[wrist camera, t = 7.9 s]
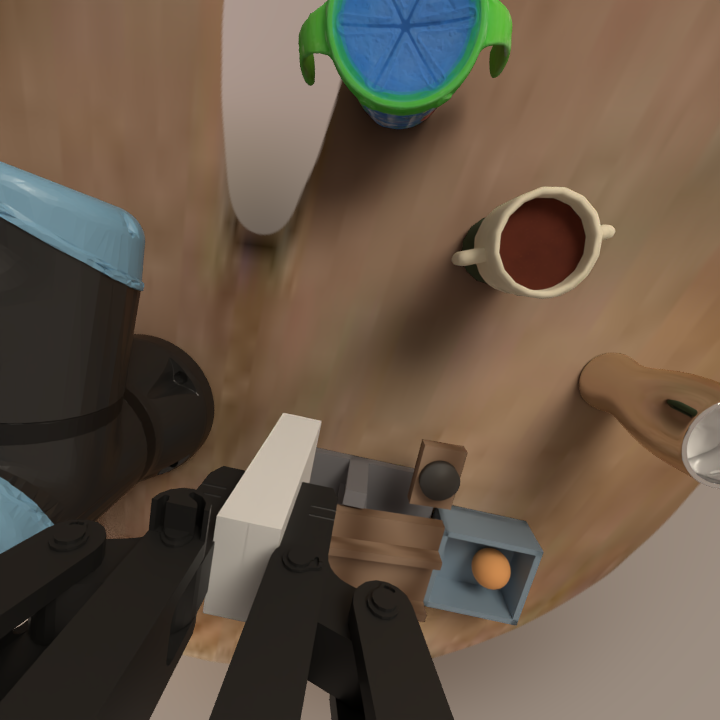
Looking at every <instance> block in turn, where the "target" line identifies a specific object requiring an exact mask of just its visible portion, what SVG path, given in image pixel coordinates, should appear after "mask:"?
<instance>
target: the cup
mask: <svg viewBox="0 0 720 720" xmlns="http://www.w3.org/2000/svg"><path fill="white" fill-rule="evenodd" d="M432 519H438V520H442V521H443V524H444V526H445V530H444V534H443V537H442V540H441V544H440V547H439V550H438V552H439V555H440V558H441V560H442V567H441V570H433V571H432V574H431V577H430V581H429V584H428V587H427V591H426V594H425V597H424V601H423V603H424V606H427V607H432V608H437V609H441V610H446V611H451V612H455V613H460V614H465V615H470V616H474V617H479V618H484V619H488V620H493V621H498V622H502V623H507V624H512V625H517V622H518V620H519V617H520V614H521V611H522V609H523V606H524V603H525V601H526V598H527V595H528V593H529V590H530V587H531V584H532V582H533V579H534V576H535V574H536V571H537V568H538V566H539V563H540V560H541V557H542V555H543V550H542V548H541V547H540V545H539V543H538V541H537V540H536V538H535V536H534V534H533V533H532V531H531V529H530V527H529V526H528V524H527V522H526V521H523V520H518V519H514V518H509V517H504V516H500V515H495V514H490V513H486V512H481V511H476V510H472V509H467V508H462V507H458V506H453V505H452V507H451V510H448V509H442V508H435V510H434V513H433V517H432ZM483 548H494V549H496V550H498V551H500V552H501V553H502V554H503V555H504V556H505V557H506V558H507V560H508V562H509V564H510V569H511V574H510V578H509V581H508V582H507V584H506V585H505V586H504V587H502V588H500V589H496V590H492V589H487V588H485V587H483V586H482V585H480V584H479V583H478V582H477V580H476V579H475V577H474V575H473V573H472V567H471V564H472V559H473V557H474V555H475V554H476V553H477V552H478V551H479V550H481V549H483Z"/></svg>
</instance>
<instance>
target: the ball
mask: <svg viewBox="0 0 720 720" xmlns="http://www.w3.org/2000/svg"><path fill="white" fill-rule="evenodd" d="M471 567H472V573H473V575H474V577H475V579H476V580H477V582H478V583H479V584H480V585H482V586H483V587H485V588H487V589H492V590H496V589H500V588H502V587H504V586H505V585H506V584H507V582H508V581H509V578H510V574H511V569H510V564H509V562H508V560H507V558H506V557H505V556H504V555H503V554H502V553H501V552H500V551H498V550H496V549H494V548H483V549H481V550H479V551H478V552H477V553H476V554H475V555H474V557H473V559H472V564H471Z"/></svg>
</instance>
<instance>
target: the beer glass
mask: <svg viewBox="0 0 720 720" xmlns="http://www.w3.org/2000/svg"><path fill="white" fill-rule="evenodd" d="M579 391H580V394H581V396H582V398H583V399H584V400H585V401H586V403H588V404H589V405H590V406H592V407H594V408H596V409H598V410H601V411H604V412H608V413H610V414H612V415H613V416H614V417H615V418H616V419H617V420H618V421H619V423H620V424H621V425H622V426H623V427H624V428H625V429H626V430H627V432H628V433H629V434H630V435H631V436H632V437H633V438H634V439H635V440H636V441H637V442H638V443H639V444H641V445H642V446H643V447H644V448H645V449H647V450H648V451H649V452H651V453H652V454H653V455H655V456H656V457H658V458H659V459H661V460H662V461H664V462H666V463H667V464H669V465H671V466H672V467H674V468H676V469H678V470H679V471H681V472H683V473H685V474H687V475H689V476H690V477H692V478H694V479H695V480H697V481H698V482H700V483H702V484H704V485H706V486H709V487H712V488H718V489H720V383H719V382H717V381H714V380H712V379H708V378H705V377H702V376H698V375H695V374H690V373H685V372H680V371H673V370H665V369H656V368H648V367H644V366H642V365H640V364H639V363H638V362H636V361H635V360H634V359H632V358H631V357H629V356H627V355H625V354H621V353H605V354H602V355H599V356H597V357H595V358H594V359H592V360H591V361H590V362H589V363H588V364H587V365H586V366H585V367H584V369H583V371H582V373H581V375H580V378H579Z"/></svg>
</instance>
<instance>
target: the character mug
mask: <svg viewBox="0 0 720 720" xmlns="http://www.w3.org/2000/svg"><path fill="white" fill-rule="evenodd" d="M614 233H615V229H614V228H613V226H611V225H601V224H600V221H599V217H598V213H597V212H596V210H595V209H594V208H593V207H592V205H591V204H590V203H589V202H588V201H587V199H586V198H585V197H584V196H582V195H580V194H578V193H576V192H574V191H572V190H570V189H568V188H566V187H541V188H538V189H536V190H533V191H531V192H528V193H526V194H523V195H521V196H518V197H516V198H514V199H512V200H510V201H508V202H506V203H504V204H502V205H500V206H498V207H496V208H495V209H494V210H493V211H492V212H491V213H490V214H489V215H488V216H487V217H486V218H483V219H481V220H480V221H479V222H477V223H476V224H475V225H473V226H472V227H471V228H470V230H469V231H468V233H467V235H466V237H465V238H464V240H463V247H462V251H460V252H457V253H455V254H454V255H453V256H452V262H453V264H454V265H458V266H465V269H466V271H467V272H468V273H469V274H470V275H471V276H473V277H474V278H475V279H476V280H477V281H480V282H484V283H487V284H488V285H490V286H491V287H493V288H494V289H496V290H499V291H502V292H504V293H511V294H514V295H517V296H526V297H533V298H540V299H544V298H553V297H557V296H560V295H562V294H564V293H566V292H568V291H570V290H572V289H574V288H575V287H576V286H577V285H578V284H579V283H580V282H581V281H583V280H584V279H585V278H586V277H587V276H588V275H589V273H590V271H591V269H592V268H593V266H594V264H595V262H596V260H597V259H598V257H599V254H600V248H601V242H602V241H604V240H607V239H609V238H611V237H613V235H614Z"/></svg>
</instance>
